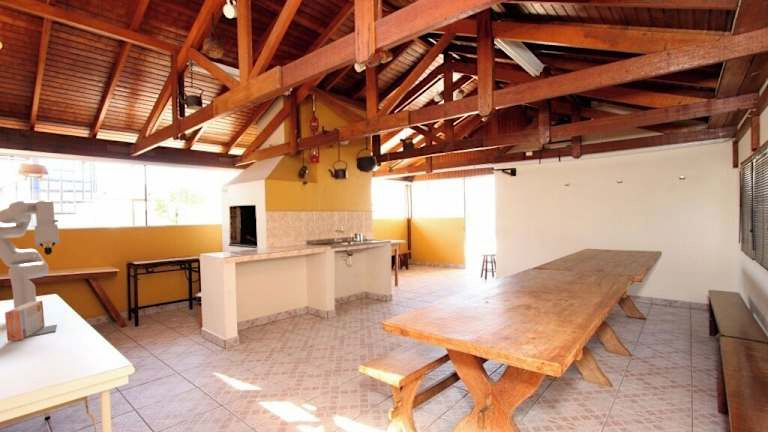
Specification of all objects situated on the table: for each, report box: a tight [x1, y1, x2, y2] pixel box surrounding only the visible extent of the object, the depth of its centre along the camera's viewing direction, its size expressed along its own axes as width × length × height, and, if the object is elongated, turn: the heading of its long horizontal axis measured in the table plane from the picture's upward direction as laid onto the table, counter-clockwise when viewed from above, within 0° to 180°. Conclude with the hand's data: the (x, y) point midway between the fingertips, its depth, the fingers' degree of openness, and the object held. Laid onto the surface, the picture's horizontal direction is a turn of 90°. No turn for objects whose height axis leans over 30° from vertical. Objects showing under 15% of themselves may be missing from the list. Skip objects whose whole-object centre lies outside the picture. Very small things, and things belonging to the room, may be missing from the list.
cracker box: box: [4, 300, 46, 342], centre depth 183 cm, size 14×6×21 cm
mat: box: [24, 324, 58, 339], centre depth 187 cm, size 14×12×1 cm
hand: (48, 254), depth 208 cm, fingers closed
